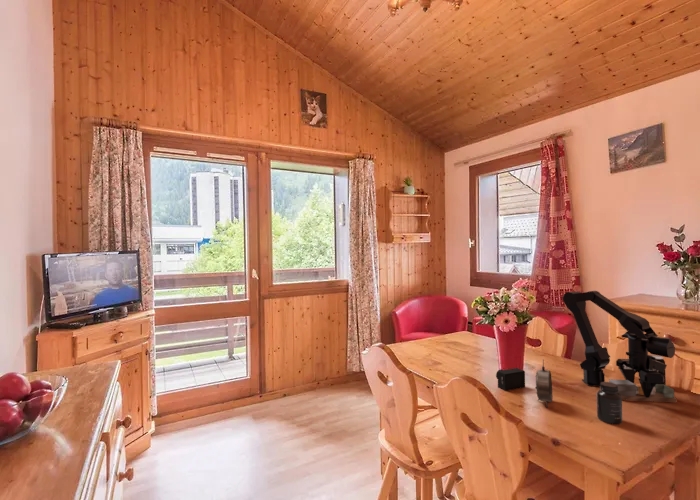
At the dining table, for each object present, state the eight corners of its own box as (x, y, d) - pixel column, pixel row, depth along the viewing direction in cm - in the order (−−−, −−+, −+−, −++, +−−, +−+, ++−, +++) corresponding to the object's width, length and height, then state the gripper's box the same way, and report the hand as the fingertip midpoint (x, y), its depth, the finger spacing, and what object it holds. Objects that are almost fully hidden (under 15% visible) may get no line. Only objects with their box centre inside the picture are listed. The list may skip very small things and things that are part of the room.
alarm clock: (551, 410, 126) (550, 364, 126) (534, 406, 129) (533, 362, 129) (553, 398, 135) (552, 356, 135) (537, 396, 138) (536, 354, 138)
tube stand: (616, 399, 133) (615, 384, 133) (607, 393, 139) (606, 378, 139) (676, 402, 130) (676, 386, 130) (665, 395, 136) (664, 380, 136)
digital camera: (515, 383, 152) (515, 366, 152) (525, 387, 147) (525, 370, 147) (495, 386, 149) (495, 369, 149) (505, 391, 144) (504, 373, 144)
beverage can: (669, 389, 142) (669, 359, 142) (650, 388, 143) (650, 358, 143) (659, 383, 148) (658, 354, 148) (641, 382, 150) (640, 354, 150)
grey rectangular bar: (616, 393, 134) (616, 385, 134) (611, 390, 138) (611, 382, 138) (655, 395, 132) (655, 386, 132) (649, 391, 135) (649, 383, 135)
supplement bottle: (592, 416, 121) (591, 380, 121) (610, 415, 121) (609, 379, 121) (608, 426, 114) (607, 388, 114) (628, 424, 115) (627, 387, 115)
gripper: (680, 359, 124) (682, 403, 124) (645, 345, 143) (646, 384, 142) (644, 358, 126) (646, 402, 126) (614, 344, 144) (615, 383, 144)
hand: (639, 392), depth 135 cm, fingers open, 9 cm apart
